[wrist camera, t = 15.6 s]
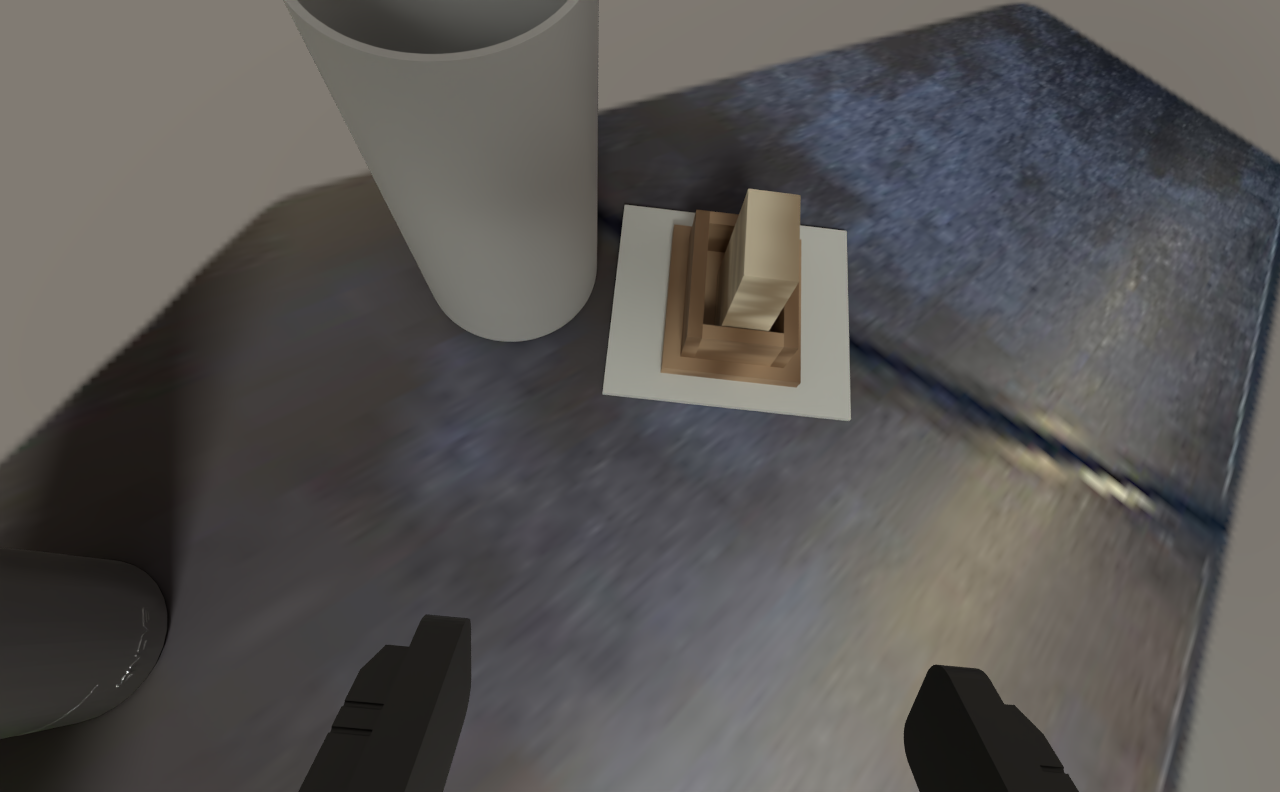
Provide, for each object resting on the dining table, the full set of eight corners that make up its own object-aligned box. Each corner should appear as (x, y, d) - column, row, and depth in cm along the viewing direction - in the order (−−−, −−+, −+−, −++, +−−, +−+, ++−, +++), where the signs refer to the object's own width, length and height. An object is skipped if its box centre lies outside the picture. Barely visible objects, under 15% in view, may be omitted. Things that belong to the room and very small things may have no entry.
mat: (602, 394, 45) (602, 392, 45) (624, 207, 50) (624, 204, 50) (848, 421, 46) (850, 419, 45) (844, 233, 51) (846, 230, 50)
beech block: (712, 345, 45) (743, 275, 36) (717, 273, 47) (748, 188, 38) (756, 351, 45) (798, 282, 36) (759, 278, 47) (800, 195, 38)
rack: (660, 372, 45) (667, 347, 41) (672, 231, 49) (679, 195, 45) (796, 387, 46) (817, 364, 41) (797, 246, 50) (816, 212, 45)
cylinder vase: (535, 176, 51) (484, -204, 27) (629, 287, 48) (662, -28, 24) (399, 253, 48) (206, -100, 24) (490, 377, 45) (375, 116, 21)
